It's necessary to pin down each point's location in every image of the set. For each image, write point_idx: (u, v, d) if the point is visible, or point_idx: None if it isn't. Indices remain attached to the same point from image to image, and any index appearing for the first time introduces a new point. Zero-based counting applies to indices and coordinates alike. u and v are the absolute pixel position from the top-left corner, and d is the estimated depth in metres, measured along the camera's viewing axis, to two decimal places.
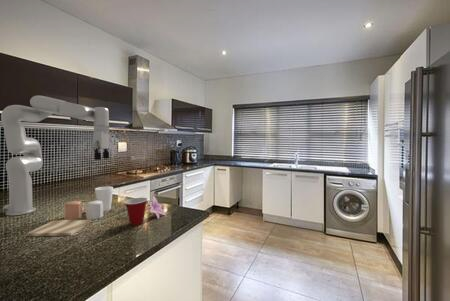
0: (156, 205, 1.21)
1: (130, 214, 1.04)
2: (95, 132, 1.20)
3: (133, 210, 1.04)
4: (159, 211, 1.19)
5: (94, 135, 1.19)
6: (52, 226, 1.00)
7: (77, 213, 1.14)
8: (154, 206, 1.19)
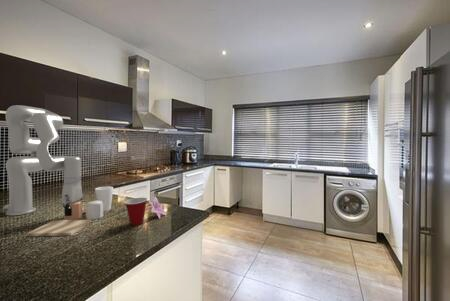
0: (157, 205, 1.21)
1: (130, 214, 1.04)
2: (64, 185, 1.10)
3: (133, 210, 1.04)
4: (160, 211, 1.20)
5: (63, 189, 1.10)
6: (52, 226, 1.00)
7: (77, 213, 1.14)
8: (155, 206, 1.20)
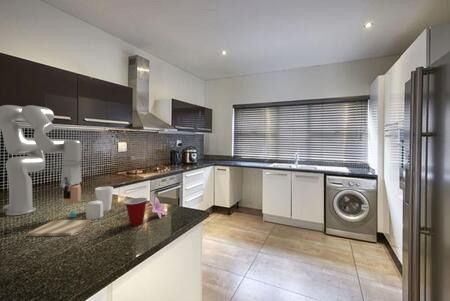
0: (158, 205, 1.21)
1: (130, 214, 1.04)
2: (64, 168, 1.10)
3: (133, 210, 1.04)
4: (161, 211, 1.20)
5: (62, 171, 1.10)
6: (52, 226, 1.00)
7: (76, 196, 1.14)
8: (156, 206, 1.20)
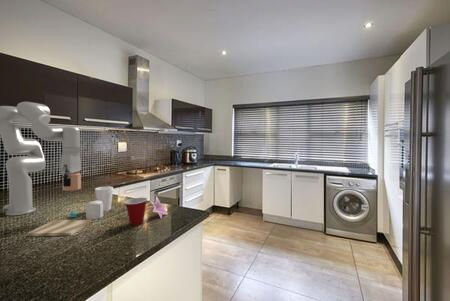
0: (158, 205, 1.21)
1: (130, 214, 1.04)
2: (63, 155, 1.09)
3: (133, 210, 1.04)
4: (161, 211, 1.20)
5: (62, 158, 1.09)
6: (52, 226, 1.00)
7: (76, 184, 1.12)
8: (156, 206, 1.20)
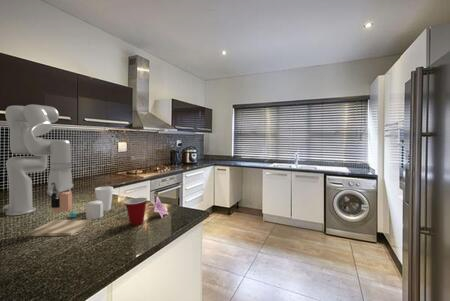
0: (159, 205, 1.21)
1: (130, 214, 1.04)
2: (51, 172, 0.95)
3: (133, 210, 1.04)
4: (162, 210, 1.20)
5: (50, 176, 0.95)
6: (52, 226, 1.00)
7: (66, 204, 0.99)
8: (157, 206, 1.20)
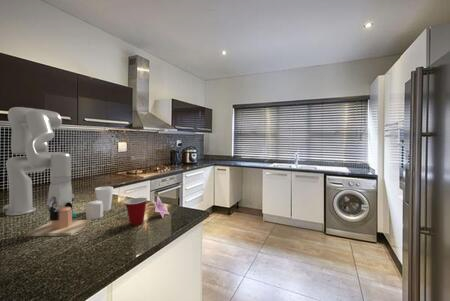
0: (160, 205, 1.21)
1: (130, 214, 1.04)
2: (51, 186, 0.96)
3: (133, 210, 1.04)
4: (163, 210, 1.20)
5: (50, 190, 0.95)
6: None
7: (66, 221, 0.99)
8: (158, 206, 1.20)
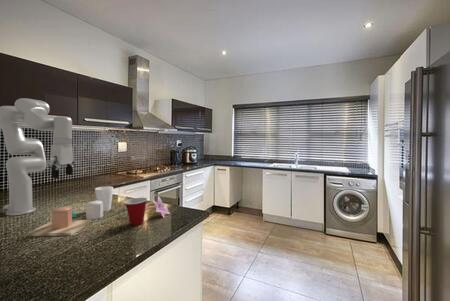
0: (160, 205, 1.22)
1: (130, 214, 1.04)
2: (53, 146, 1.03)
3: (133, 210, 1.04)
4: (164, 210, 1.21)
5: (52, 149, 1.03)
6: None
7: (66, 221, 0.99)
8: (159, 206, 1.20)
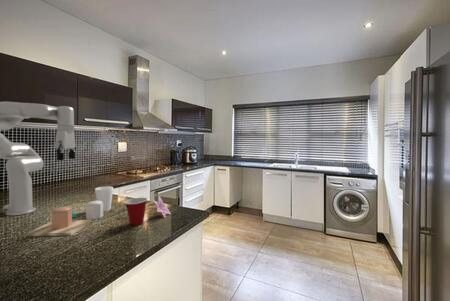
0: (161, 204, 1.22)
1: (130, 214, 1.04)
2: (58, 132, 1.17)
3: (133, 210, 1.04)
4: (164, 210, 1.21)
5: (57, 135, 1.17)
6: None
7: (66, 221, 0.99)
8: (159, 205, 1.21)
